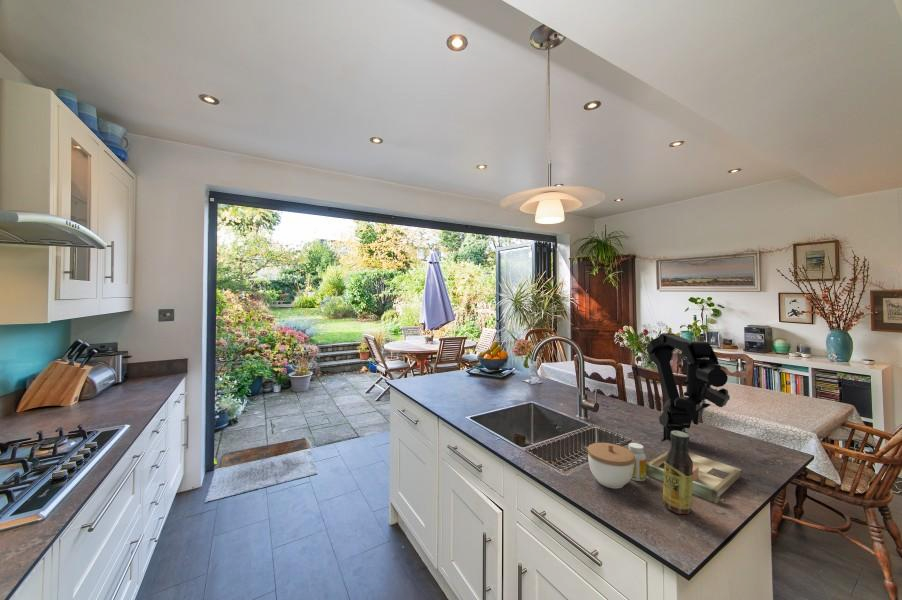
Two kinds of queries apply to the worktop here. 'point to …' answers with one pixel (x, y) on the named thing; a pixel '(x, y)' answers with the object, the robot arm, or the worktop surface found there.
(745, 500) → the worktop surface
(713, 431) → the worktop surface
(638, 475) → the supplement bottle
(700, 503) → the worktop surface
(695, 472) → the block
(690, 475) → the sauce bottle
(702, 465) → the box
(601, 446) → the lidded bowl
